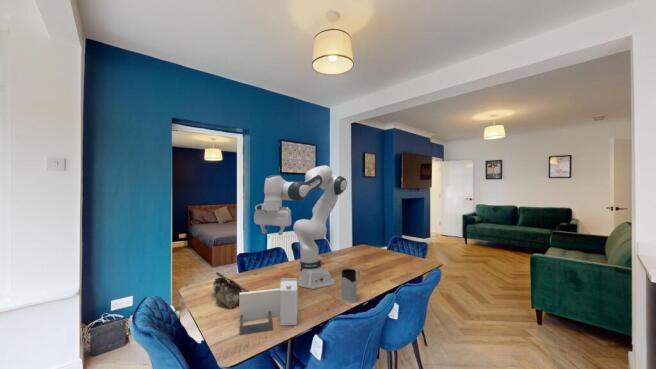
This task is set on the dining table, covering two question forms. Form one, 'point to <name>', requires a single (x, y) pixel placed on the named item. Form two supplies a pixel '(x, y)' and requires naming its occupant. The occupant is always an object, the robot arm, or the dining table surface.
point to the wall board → (260, 304)
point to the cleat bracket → (256, 326)
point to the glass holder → (349, 285)
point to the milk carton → (288, 301)
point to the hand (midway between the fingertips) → (272, 234)
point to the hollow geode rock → (227, 291)
